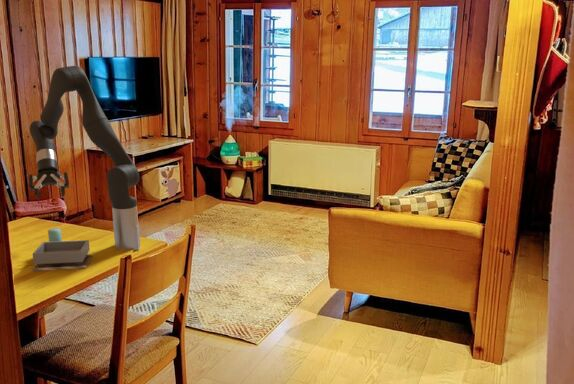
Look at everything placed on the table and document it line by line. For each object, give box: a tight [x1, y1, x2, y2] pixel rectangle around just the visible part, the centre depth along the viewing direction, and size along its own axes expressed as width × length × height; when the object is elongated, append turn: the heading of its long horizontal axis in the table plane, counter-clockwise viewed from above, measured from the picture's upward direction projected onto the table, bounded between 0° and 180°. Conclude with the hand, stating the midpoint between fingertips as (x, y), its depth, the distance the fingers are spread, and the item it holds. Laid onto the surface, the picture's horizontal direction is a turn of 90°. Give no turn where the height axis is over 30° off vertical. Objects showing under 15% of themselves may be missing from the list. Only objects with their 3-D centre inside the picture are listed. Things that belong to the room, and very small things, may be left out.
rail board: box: [31, 253, 94, 272], centre depth 187 cm, size 18×12×2 cm, turn 99°
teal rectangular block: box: [47, 227, 63, 242], centre depth 196 cm, size 4×4×10 cm
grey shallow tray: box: [32, 239, 91, 268], centre depth 186 cm, size 16×12×6 cm
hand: (50, 197), depth 203 cm, fingers open, 8 cm apart
